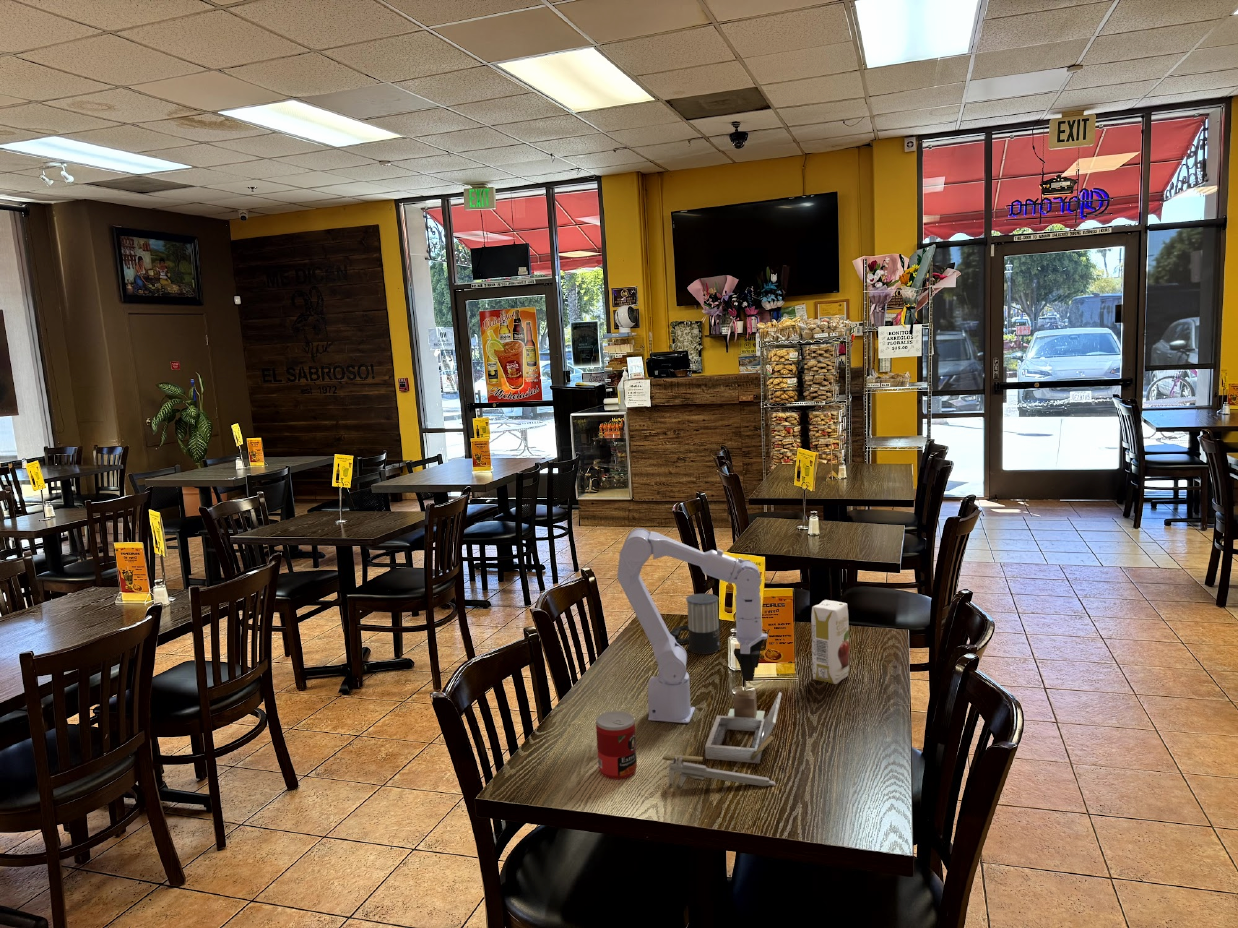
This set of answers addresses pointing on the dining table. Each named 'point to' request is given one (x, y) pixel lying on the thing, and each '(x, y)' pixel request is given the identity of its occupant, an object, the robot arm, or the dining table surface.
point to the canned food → (616, 744)
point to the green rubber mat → (759, 715)
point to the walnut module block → (745, 704)
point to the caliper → (712, 774)
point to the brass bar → (683, 757)
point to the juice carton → (830, 641)
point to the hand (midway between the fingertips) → (750, 673)
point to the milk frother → (701, 624)
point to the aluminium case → (728, 752)
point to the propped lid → (768, 727)
